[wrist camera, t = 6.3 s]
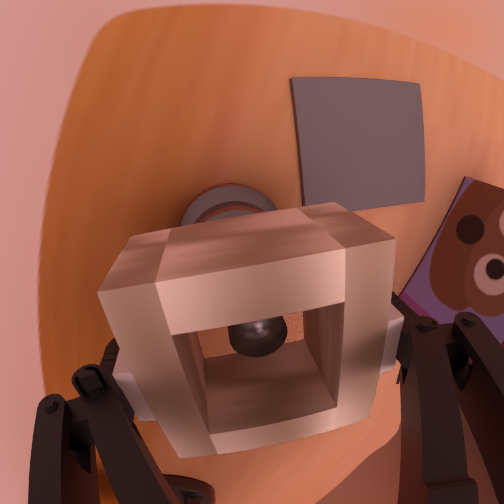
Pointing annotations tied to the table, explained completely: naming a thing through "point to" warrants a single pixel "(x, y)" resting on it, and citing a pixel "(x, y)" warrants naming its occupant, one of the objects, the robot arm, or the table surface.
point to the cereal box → (464, 261)
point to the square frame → (248, 310)
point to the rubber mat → (359, 141)
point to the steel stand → (227, 206)
